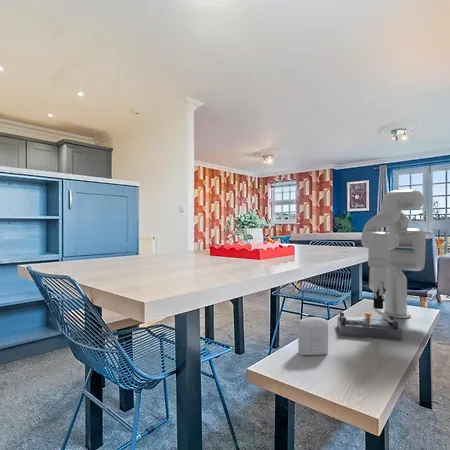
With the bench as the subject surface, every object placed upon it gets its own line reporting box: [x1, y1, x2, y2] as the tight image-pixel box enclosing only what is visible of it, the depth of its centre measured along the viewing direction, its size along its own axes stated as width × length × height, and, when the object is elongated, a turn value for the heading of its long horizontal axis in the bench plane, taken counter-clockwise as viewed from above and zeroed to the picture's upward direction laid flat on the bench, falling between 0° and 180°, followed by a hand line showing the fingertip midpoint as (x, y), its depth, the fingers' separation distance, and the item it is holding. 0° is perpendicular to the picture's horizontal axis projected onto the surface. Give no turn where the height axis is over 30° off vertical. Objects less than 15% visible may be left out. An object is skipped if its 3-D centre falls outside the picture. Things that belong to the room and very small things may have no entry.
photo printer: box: [297, 316, 329, 356], centre depth 107 cm, size 10×4×12 cm, turn 98°
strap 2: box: [372, 306, 395, 324], centre depth 125 cm, size 9×5×1 cm
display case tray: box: [336, 311, 403, 341], centre depth 127 cm, size 12×22×8 cm, turn 76°
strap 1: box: [341, 315, 366, 322], centre depth 128 cm, size 9×5×1 cm, turn 76°
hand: (378, 308), depth 126 cm, fingers closed
